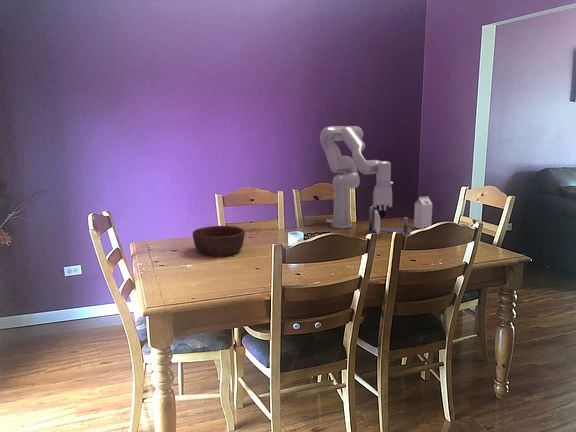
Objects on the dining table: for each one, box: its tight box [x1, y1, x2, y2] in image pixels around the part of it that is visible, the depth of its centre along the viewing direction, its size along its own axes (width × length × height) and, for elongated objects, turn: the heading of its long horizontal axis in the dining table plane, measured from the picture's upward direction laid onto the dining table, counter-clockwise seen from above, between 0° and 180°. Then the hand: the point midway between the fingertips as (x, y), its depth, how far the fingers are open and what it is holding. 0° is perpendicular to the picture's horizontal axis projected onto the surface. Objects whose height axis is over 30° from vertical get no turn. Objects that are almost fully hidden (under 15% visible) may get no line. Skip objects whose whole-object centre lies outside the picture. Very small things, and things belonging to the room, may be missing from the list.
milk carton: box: [413, 195, 433, 229], centre depth 293 cm, size 7×7×19 cm
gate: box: [373, 209, 381, 236], centre depth 279 cm, size 19×2×10 cm, turn 176°
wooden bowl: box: [192, 225, 245, 258], centre depth 245 cm, size 25×25×10 cm
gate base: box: [367, 205, 414, 235], centre depth 286 cm, size 25×9×14 cm, turn 79°
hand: (382, 217), depth 276 cm, fingers closed
